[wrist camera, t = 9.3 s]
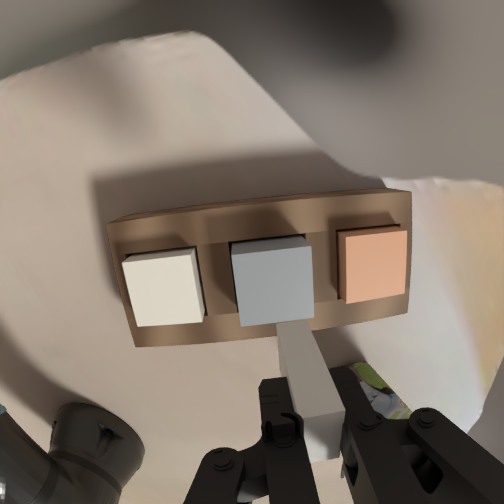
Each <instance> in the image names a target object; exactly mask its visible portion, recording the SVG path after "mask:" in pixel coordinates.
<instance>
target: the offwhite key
mask: <svg viewBox="0 0 504 504" xmlns="http://www.w3.org/2000/svg"><path fill="white" fill-rule="evenodd" d="M122 265H123V270H124V274H125V279H126V283H127V287H128V292H129V296H130V300H131V304H132V308H133V311H134V315H135V319H136V323H137V326H138V327H141V326H157V325H172V324H185V323H197V322H202V321H203V316H204V312H205V307H206V301H205V295H204V289H203V283H202V277H201V271H200V265H199V259H198V252H197V245H196V246H187V247H179V248H171V249H162V250H154V251H146V252H138V253H133V254H132V255H131V256H129V257H128V258H127V259H126V260H125V261H124V262H122Z"/></svg>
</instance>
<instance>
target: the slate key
mask: <svg viewBox="0 0 504 504" xmlns="http://www.w3.org/2000/svg"><path fill="white" fill-rule="evenodd" d="M231 256H232V264H233V272H234V279H235V287H236V294H237V302H238V309H239V317H240V324H241V327H243V326H252V325H261V324H269V323H277V322H285V321H292V320H299V319H306V318H313V317H314V293H313V269H312V250H311V245H310V244H309V243H308V242H307V241H306V240H305V239H304V238H303V237H302V236H301V235H296V236H287V237H278V238H269V239H260V240H251V241H242V242H234V243H232V253H231Z"/></svg>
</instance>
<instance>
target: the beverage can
mask: <svg viewBox="0 0 504 504" xmlns="http://www.w3.org/2000/svg"><path fill="white" fill-rule="evenodd" d="M348 368H349V369H351V370H352V371H353V372H354V373H355V375H356V377H357V379H358V381H359V383H360V385H361V387H362V388H363V390H364V392H365V394H366V396H367V398H368V400H369V402H370V403H371V405H372V407H373V409H374V410H375V411H377V412H379V413H381V414H382V415H383V416H384V417H385V418H388V419H409V417H410V415H411V414H412V411H411V410H410V409H409V408H408V406H407V405H406V404H405V403H404V402H403V401H402V400H401V399H400V398H399V397H398V395H397V394H396V393H395V392H394V391H393V390H392V389H391V388H390V387H389V386H388V384H387V383H386V382H385V381H384V380H383V379H382V378H381V377H380V376H379V375H378V374H377V372H376V371H375V370H374V369H373V368H372V367H371V366H370V365H369V364H367V363H363V362H360V363H354V364H352V365H349V366H348Z"/></svg>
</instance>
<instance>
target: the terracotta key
mask: <svg viewBox="0 0 504 504" xmlns="http://www.w3.org/2000/svg"><path fill="white" fill-rule="evenodd" d="M336 256H337V293H338V294H339V295H340V296H341V298H342V299H343V300H344V302H345V303H346V304H349V303H355V302H361V301H367V300H372V299H378V298H383V297H389V296H394V295H399V294H404V293H405V278H406V258H407V230H405V229H402V228H400V227H397V226H394V225H392V224H388V225H378V226H368V227H358V228H349V229H339V230H336Z"/></svg>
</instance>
